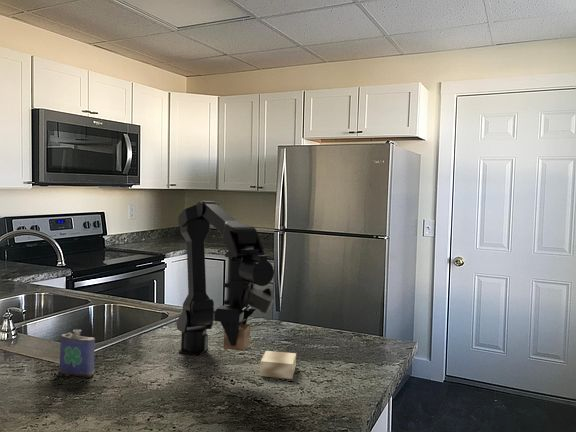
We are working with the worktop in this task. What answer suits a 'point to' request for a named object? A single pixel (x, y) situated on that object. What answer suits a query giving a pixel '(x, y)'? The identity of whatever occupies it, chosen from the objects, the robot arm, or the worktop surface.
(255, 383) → the worktop surface
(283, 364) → the beech block
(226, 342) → the walnut cube
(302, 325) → the worktop surface
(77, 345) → the flask
